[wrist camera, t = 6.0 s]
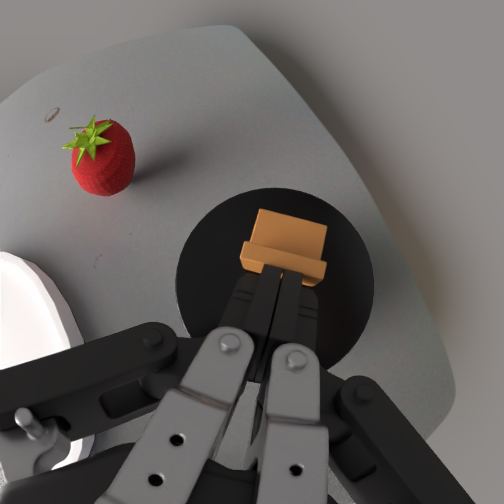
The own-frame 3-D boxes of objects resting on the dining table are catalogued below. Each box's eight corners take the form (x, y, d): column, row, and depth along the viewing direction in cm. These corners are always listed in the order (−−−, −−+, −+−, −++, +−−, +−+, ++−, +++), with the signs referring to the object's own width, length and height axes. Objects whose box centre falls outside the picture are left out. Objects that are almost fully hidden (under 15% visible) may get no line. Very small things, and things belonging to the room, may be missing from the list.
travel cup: (308, 369, 22) (347, 402, 11) (199, 339, 23) (151, 349, 12) (335, 261, 24) (386, 215, 14) (230, 234, 25) (210, 169, 14)
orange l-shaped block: (312, 288, 13) (323, 279, 10) (243, 269, 13) (239, 257, 11) (325, 229, 13) (337, 210, 11) (259, 212, 14) (259, 189, 11)
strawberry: (105, 225, 26) (45, 180, 16) (98, 165, 28) (52, 112, 18) (158, 204, 26) (112, 145, 16) (146, 145, 28) (109, 81, 18)
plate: (81, 516, 17) (71, 524, 15) (-45, 394, 20) (-55, 394, 18) (130, 317, 24) (117, 316, 21) (-15, 228, 27) (-26, 223, 24)
